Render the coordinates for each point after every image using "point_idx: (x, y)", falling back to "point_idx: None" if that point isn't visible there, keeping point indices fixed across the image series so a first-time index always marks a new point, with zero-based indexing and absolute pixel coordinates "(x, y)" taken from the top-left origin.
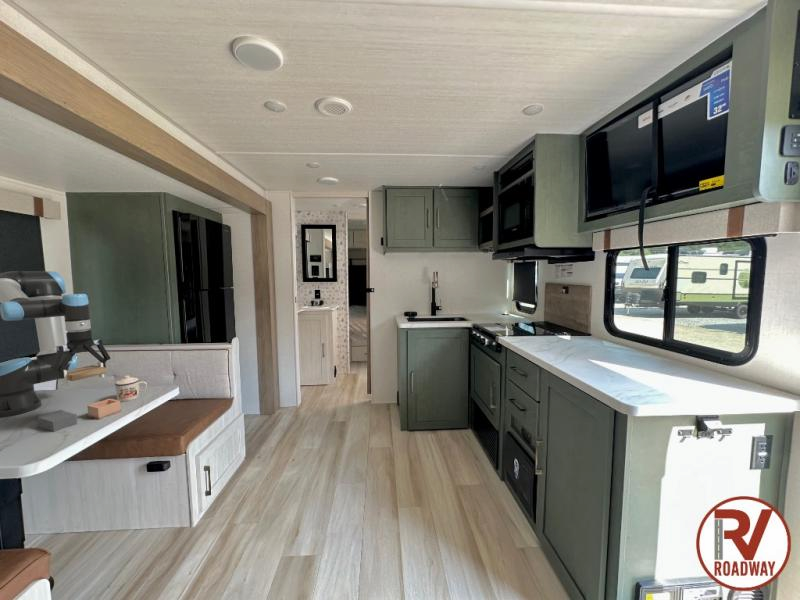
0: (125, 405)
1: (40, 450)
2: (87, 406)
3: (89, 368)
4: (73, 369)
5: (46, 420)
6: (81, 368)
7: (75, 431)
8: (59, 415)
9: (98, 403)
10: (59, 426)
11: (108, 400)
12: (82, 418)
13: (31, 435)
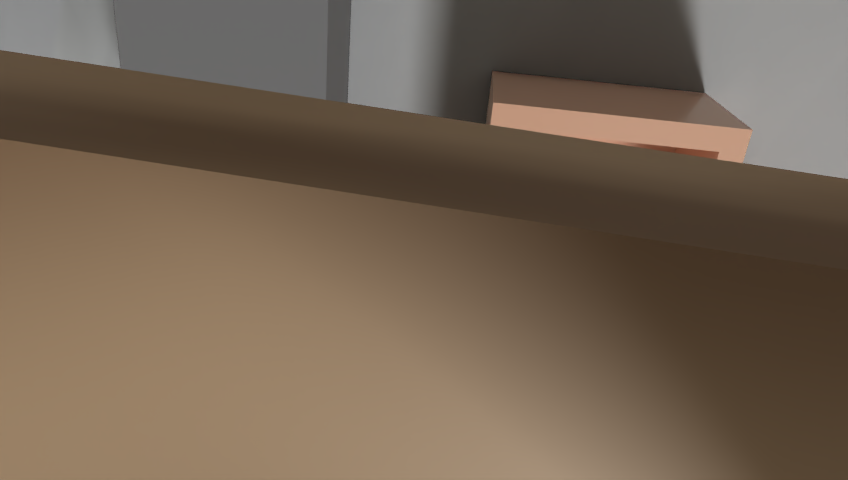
0: (822, 151)
1: None
2: (493, 98)
3: None
4: (269, 237)
5: (119, 27)
6: (508, 427)
7: None
8: (236, 24)
9: (597, 136)
10: None
11: (712, 147)
12: (441, 60)
13: (52, 18)
